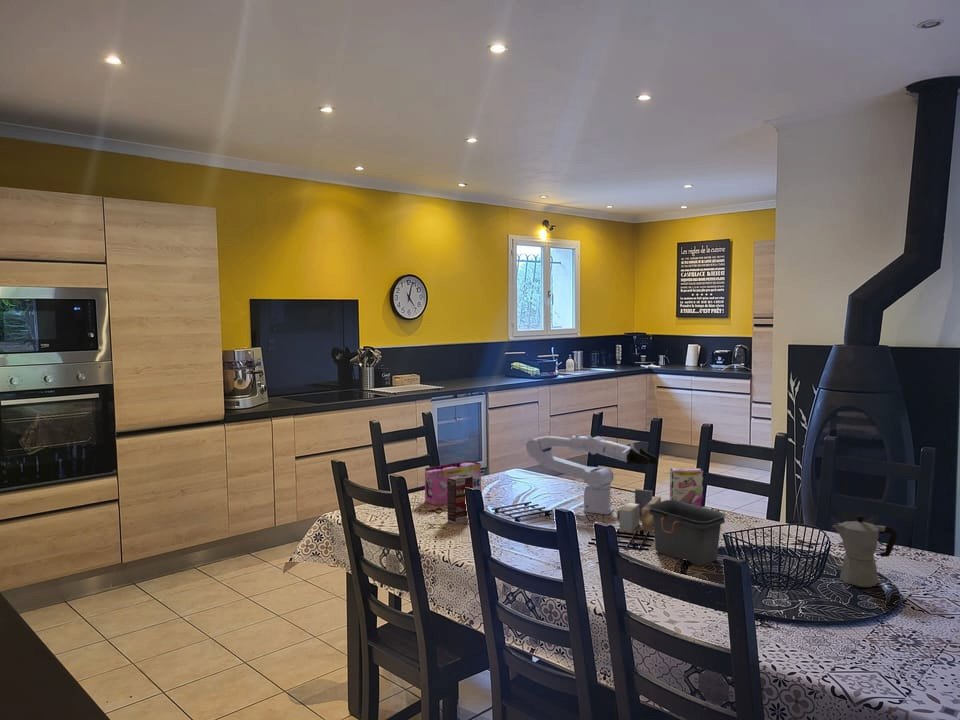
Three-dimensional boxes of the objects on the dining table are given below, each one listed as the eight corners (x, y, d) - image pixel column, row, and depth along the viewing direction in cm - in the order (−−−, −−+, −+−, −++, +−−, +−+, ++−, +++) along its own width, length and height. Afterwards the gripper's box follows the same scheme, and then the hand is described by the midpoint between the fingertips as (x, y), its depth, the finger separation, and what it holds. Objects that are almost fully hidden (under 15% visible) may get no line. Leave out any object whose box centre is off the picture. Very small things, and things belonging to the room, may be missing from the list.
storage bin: (730, 561, 202) (731, 513, 201) (698, 573, 193) (698, 523, 192) (671, 542, 219) (671, 498, 218) (639, 553, 210) (638, 507, 209)
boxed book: (619, 530, 233) (619, 509, 233) (628, 522, 242) (628, 502, 241) (631, 532, 231) (631, 511, 231) (639, 523, 240) (639, 503, 239)
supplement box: (455, 524, 242) (454, 480, 241) (447, 521, 245) (446, 477, 244) (474, 519, 247) (473, 476, 246) (465, 517, 251) (464, 474, 250)
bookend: (635, 514, 251) (635, 489, 251) (637, 511, 254) (637, 487, 253) (651, 516, 248) (651, 491, 248) (653, 513, 251) (653, 489, 251)
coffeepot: (833, 584, 184) (834, 517, 183) (829, 571, 193) (831, 508, 192) (900, 591, 178) (901, 523, 177) (893, 578, 187) (894, 513, 186)
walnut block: (617, 518, 246) (617, 510, 245) (622, 514, 251) (622, 506, 251) (625, 520, 244) (625, 511, 244) (630, 515, 249) (630, 507, 249)
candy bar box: (671, 515, 249) (671, 470, 248) (669, 511, 254) (669, 467, 253) (703, 515, 248) (703, 470, 247) (700, 511, 253) (700, 467, 252)
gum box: (432, 506, 266) (432, 471, 265) (421, 502, 272) (420, 468, 271) (481, 496, 280) (481, 463, 279) (470, 492, 287) (469, 460, 286)
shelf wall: (641, 529, 233) (641, 508, 233) (655, 515, 249) (655, 496, 249) (647, 530, 232) (647, 509, 232) (660, 516, 248) (660, 496, 248)
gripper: (611, 440, 244) (647, 450, 236) (628, 440, 256) (663, 450, 248) (607, 460, 244) (643, 470, 236) (624, 459, 256) (658, 469, 248)
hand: (653, 461), depth 242 cm, fingers open, 7 cm apart
